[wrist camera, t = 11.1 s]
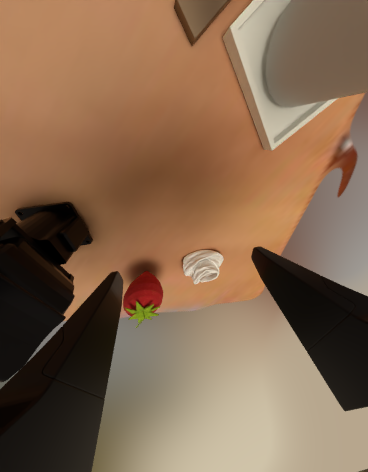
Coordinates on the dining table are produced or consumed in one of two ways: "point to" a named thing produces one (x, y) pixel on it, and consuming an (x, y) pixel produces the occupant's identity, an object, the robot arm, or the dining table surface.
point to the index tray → (264, 73)
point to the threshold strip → (198, 15)
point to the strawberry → (143, 297)
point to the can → (318, 52)
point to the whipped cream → (202, 265)
